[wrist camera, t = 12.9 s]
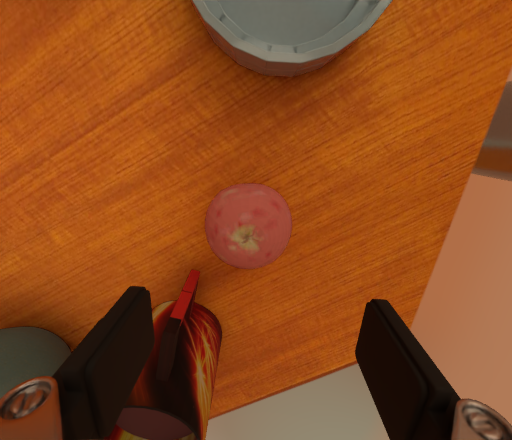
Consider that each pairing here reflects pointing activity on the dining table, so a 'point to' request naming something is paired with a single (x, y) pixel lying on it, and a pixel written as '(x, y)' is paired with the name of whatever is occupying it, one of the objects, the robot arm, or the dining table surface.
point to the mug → (175, 374)
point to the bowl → (287, 30)
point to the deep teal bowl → (29, 355)
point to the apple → (248, 225)
